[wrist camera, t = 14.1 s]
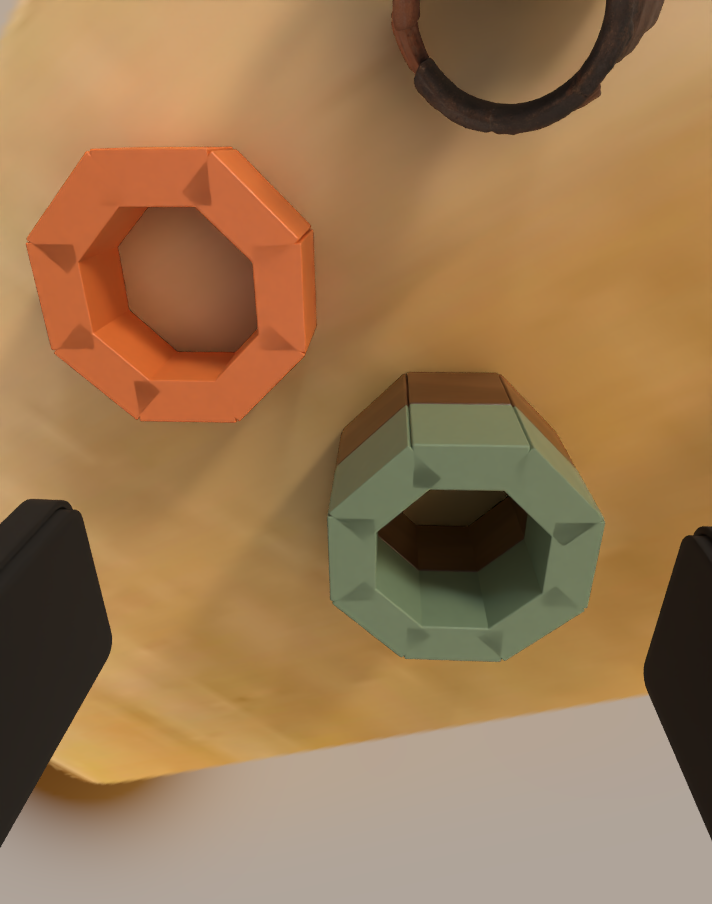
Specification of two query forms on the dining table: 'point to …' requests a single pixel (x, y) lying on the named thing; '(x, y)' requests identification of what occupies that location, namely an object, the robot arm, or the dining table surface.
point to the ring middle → (461, 593)
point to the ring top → (104, 296)
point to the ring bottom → (449, 543)
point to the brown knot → (624, 24)
